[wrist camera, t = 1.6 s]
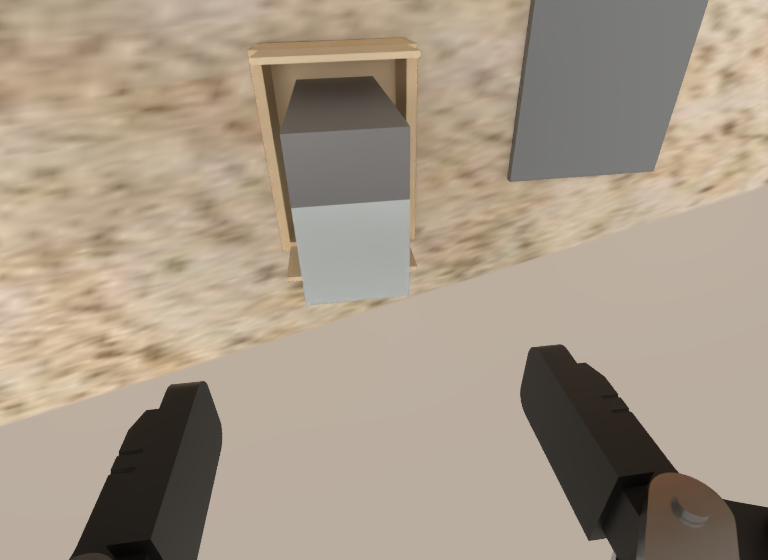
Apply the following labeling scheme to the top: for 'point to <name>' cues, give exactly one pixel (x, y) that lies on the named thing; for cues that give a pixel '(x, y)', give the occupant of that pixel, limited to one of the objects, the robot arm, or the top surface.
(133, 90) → the top surface
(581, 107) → the mat
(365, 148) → the box
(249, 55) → the carton
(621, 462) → the robot arm
